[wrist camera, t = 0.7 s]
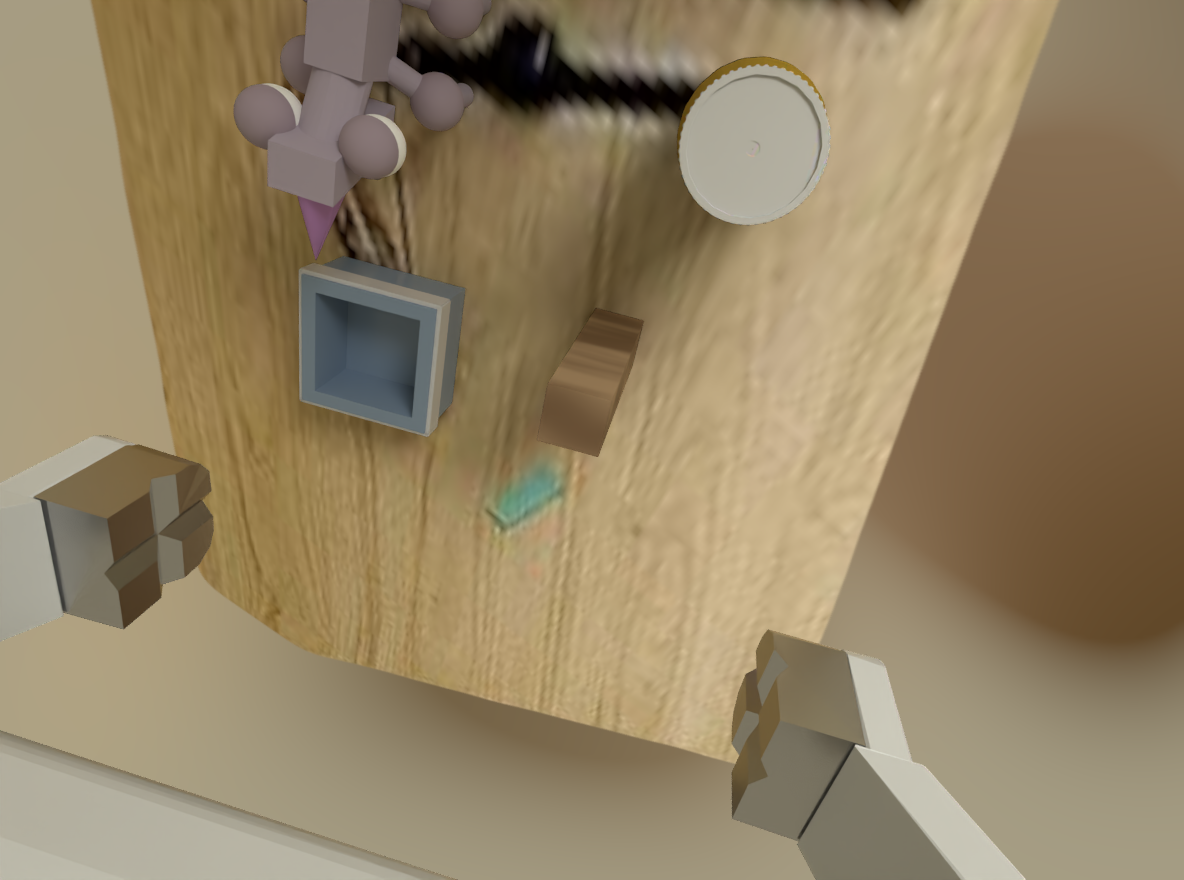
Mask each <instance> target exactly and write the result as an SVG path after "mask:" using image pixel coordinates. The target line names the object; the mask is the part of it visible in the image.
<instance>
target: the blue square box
mask: <svg viewBox="0 0 1184 880" xmlns="http://www.w3.org/2000/svg"><path fill="white" fill-rule="evenodd" d="M464 297H465V288H462V287H458V286H454V285H451V284H447V283H443V282H439V281H436V280H432V279H428V278H424V277H420V276H417V275H413V274H409V273H405V272H402V271H398V270H394V269H390V268H386V267H383V266H379V265H375V264H371V263H367V262H364V261H360V260H356V259H352V258H349V257H345V256H342V257H340V258H338V259H335V260H333V261H331V262H328V263H326V264H324V265H320V264H316V263H312V264H309V265H307V266H304V267H302V268H300V269H299V394H300V400H301V402H305V403H309V404H312V405H316V406H319V407H323V408H326V409H330V410H334V411H337V412H341V413H344V414H348V415H351V416H355V417H358V418H362V419H366V420H369V421H373V422H376V423H380V424H383V425H387V426H390V427H394V428H398V429H401V430H405V431H408V432H412V433H415V434H419V435H422V436H426V437H428V436H429V435H430V434H431V433H432V432H433V431H434V430H435V429H436V427H437V426H438V418H439V417H440V416H441V415H442V413H443V412H444V411H445V410H446V409H447V408H448V407H449V406H450V405H451V403H452V399H453V390H454V382H455V373H456V365H457V356H458V348H459V339H460V331H461V322H462V314H463V305H464Z"/></svg>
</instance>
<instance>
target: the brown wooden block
mask: <svg viewBox="0 0 1184 880" xmlns="http://www.w3.org/2000/svg"><path fill="white" fill-rule="evenodd" d="M643 322H644V321H643V320H639V319H635V318H632V317H628V316H624V315H620V314H616V313H613V312H609V311H605V310H601V309H597V308H596V309H595V310H594V312H593V313H592V315H591V317H590V318H589V320H588V321H587V323H586V324H585V326H584V327H583V329H582V331H581V332H580V334H579V335H578V337H577V338H576V340H575V342H574V343H573V345H572V346H571V348H570V349H569V351H568V352H567V354H566V356H565V357H564V359H563V360H562V362H561V363H560V365H559V367H558V368H557V370H556V371H555V373H554V374H553V376H552V377H551V379H550V381H549V382H548V384H547V390H546V395H545V400H544V405H543V411H542V416H541V421H540V426H539V431H538V437H537V440H538V441H542V442H545V443H549V444H553V445H556V446H560V447H563V448H567V449H571V450H574V451H578V452H581V453H585V454H589V455H592V456H596V457H598V456H599V453H600V450H601V448H602V445H603V443H604V440H605V437H606V435H607V432H608V429H609V427H610V424H611V421H612V419H613V416H614V413H615V411H616V408H617V405H618V403H619V400H620V397H621V395H622V392H623V389H624V387H625V384H626V382H627V379H628V376H629V374H630V371H631V368H632V365H633V362H634V358H635V354H636V350H637V346H638V342H639V338H640V334H641V330H642V326H643Z"/></svg>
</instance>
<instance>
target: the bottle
mask: <svg viewBox="0 0 1184 880" xmlns="http://www.w3.org/2000/svg"><path fill="white" fill-rule="evenodd" d="M826 112H827V111H826V109H825V105H824V101H823V99H822V97H821V95H820V93H819V92H818V90H817V89H816V87H815V85H814V84H813V82H812V81H811V80H810V79H809V77H808V76H806V75H805V74H804V73H802V72H801V71H800V70H798V69H797V68H796V67H795V66H793V65H791V64H789V63H787V62H784V61H781V60H777V59H774V58H771V57H750V58H743V59H739V60H736V61H734V62H732V63H729V64H727V65H725V66H722V67H720V68H719V69H717V70H716V71H715V72H713V73H712V74H711V75H710V76H709V77H708V78H706V79H705V80H704V81H703V82H702V83H701V84H700V85H699V86H698V87H697V89H696V90H695V92H694V93H693V95H692V97H691V98H690V100H689V101H688V103H687V104H686V107H685V109H684V111H683V115H682V118H681V122H680V125H679V128H678V134H677V155H678V161H679V164H680V170H681V171H682V178H684V181H685V183H684V184H685V186H687V188H688V192H689V193H691V194H692V198H693V199H694V200H696V201H697V204H698V205H700V206H702V207H703V209H704V210H705V211H707V212H709V214H710V215H713V216H715V217H716V218H717V219H721V220H723V221H724V222H730V223H731V224H739V225H753V224H754V225H758V224H761V223H763V224H764V223H766V222H769V221H774V220H775V219H777V218H781V217H782V216H783V215H785V214H788V213H789V212H790V211H792V210H793V209H795V208H796V207H797V206H798V205H799V204H801V203H802V202H803V201H804V200H805V199H806V198H807V197H808V196H809V194H810V193H811V191H813V190H814V189H815V186H816V184H817V183H818V182H819V179H820V177H821V175H823V170H824V167H825V166H826V164H827V163H826V161H827V158H828V157H829V153H828V152H829V149H830V144H829V143H830V139H831V136H830V133H829V131H830V126H829V124H828V122H829V118H828V117H827V114H826Z"/></svg>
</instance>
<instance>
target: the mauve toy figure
mask: <svg viewBox="0 0 1184 880" xmlns="http://www.w3.org/2000/svg"><path fill="white" fill-rule="evenodd" d="M304 1H305V2H307V15H306V31H305V35H301V36H296V37H294V38H292V39H290V40H289V41H288V42H287V43H286V44H285V46H284V47H283V49H282V52H281V57H280V63H281V68H282V72H283V74H284V76H285V78H286V79H287V81H288V82H289V83H290V85H291V86H292V87H294V88H295V89H296V90H298V91H299V92H301V93H303V94H305V98H304V101H303V105H301V103H300V101H299V100H298V99H297V97H296V96H295V95H294V94H293V93H291V92H290V91H289V90H287V89H286V88H284V87H282V86H279V85H276V84H270V83H266V84H256V85H251V86H249V87H247V88H245V89H244V90H243V91H241V93H240V94H239V95H238V96H237V98H236V100H235V104H234V118H235V122H236V125H237V127H238V129H239V131H240V132H241V133H242V135H243V136H244V137H245V138H246V139H247V140H248V141H249V142H251V143H252V144H254V145H255V146H258V147H260V148H263V149H267V150H268V186H269V187H272V188H275V189H278V190H281V191H284V192H287V193H291V194H294V195H297V196H298V200H299V203H300V207H301V210H302V214H303V217H304V221H305V224H306V228H307V231H308V235H309V238H310V242H311V245H312V249H313V252H314V256H315V259H317V257H318V255H319V253H320V250H321V248H322V246H323V244H324V241H325V239H326V237H327V235H328V233H329V230H330V228H331V226H332V224H333V221H334V219H335V217H336V215H337V212H338V210H339V208H340V206H341V203H342V201H343V199H344V197H345V195H346V193H347V192H348V191H349V190H350V189H351V188H352V187H353V186H354V185H355V184H356V183H357V182H358V181H359V180H360V179H361V178H362V177H363V178H367V179H376V180H378V179H381V178H383V177H387V176H390V175H393V174H394V173H396V172H397V171H398V170H399V169H400V168H401V166H402V165H403V163H404V161H405V157H406V142H405V138H404V136H403V134H402V132H401V130H400V129H399V128H398V126H397V125H396V124H395V123H394V113H395V106H393V105H390V104H387V103H384V102H381V101H378V100H375V99H372V98H369V96H370V92H371V89H372V85H373V82H377V81H386V82H388V83H389V84H391V85H392V86H394V87H395V88H397V89H398V90H400V91H401V92H402V93H404V94H405V95H407V96H408V97H410V105H411V109H412V112H413V114H414V116H415V117H416V119H417V120H418V121H419V122H420V123H421V124H422V125H423V126H425V127H426V128H428V129H431V130H434V131H445V130H448V129H451V128H452V127H454V126H455V125H456V124H457V123H458V122H459V121H460V119H461V117H462V115H463V111H464V108H465V107H467V106H469V105H470V104H471V103H472V101H473V97H474V95H473V91H472V89H471V88H470V87H469V86H468V85H467V84H464V83H459V84H457V83H456V82H455V81H454V80H453V79H452V78H451V77H449V76H448V75H445V74H443V73H439V72H430V73H426V74H424V75H421V74H420V73H418V72H417V71H415V70H414V69H413V68H411V67H410V66H408V65H407V64H406V63H404V62H403V61H401V60H400V59H399V58H397V57H396V55H397V47H398V39H399V31H400V22H401V14H402V6H403V3H404V4H407V5H410V6H414V7H417V8H420V9H423V10H426V11H427V13H428V16H429V19H430V20H431V22H432V24H433V25H434V27H435V28H436V29H437V30H438V31H439V32H440V33H442V34H443V35H445V36H447V37H450V38H454V39H461V38H465V37H468V36H470V35H471V34H473V33H474V32H475V31H476V30H477V28H478V27H479V25H480V23H481V21H482V17H483V15H485V14H487V13H488V12H489V11H490V8H491V0H304ZM467 108H468V107H467Z"/></svg>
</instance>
